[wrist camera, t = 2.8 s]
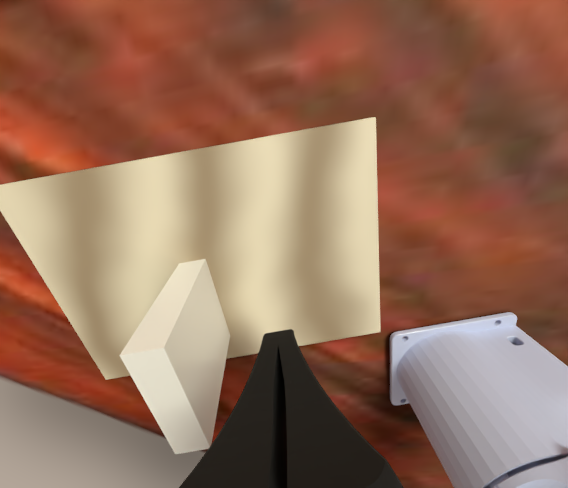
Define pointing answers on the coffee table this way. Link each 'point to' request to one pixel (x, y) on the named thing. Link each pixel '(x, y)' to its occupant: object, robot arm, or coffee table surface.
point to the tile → (182, 357)
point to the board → (214, 237)
